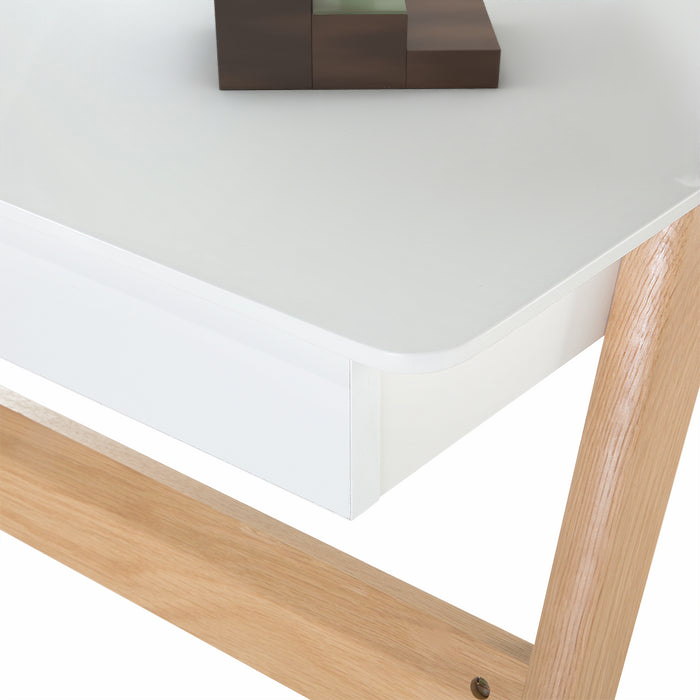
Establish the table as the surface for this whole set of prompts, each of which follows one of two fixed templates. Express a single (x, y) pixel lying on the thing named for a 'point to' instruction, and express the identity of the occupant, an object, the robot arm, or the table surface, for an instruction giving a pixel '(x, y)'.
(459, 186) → the table surface
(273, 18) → the stepped wooden block
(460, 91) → the table surface
